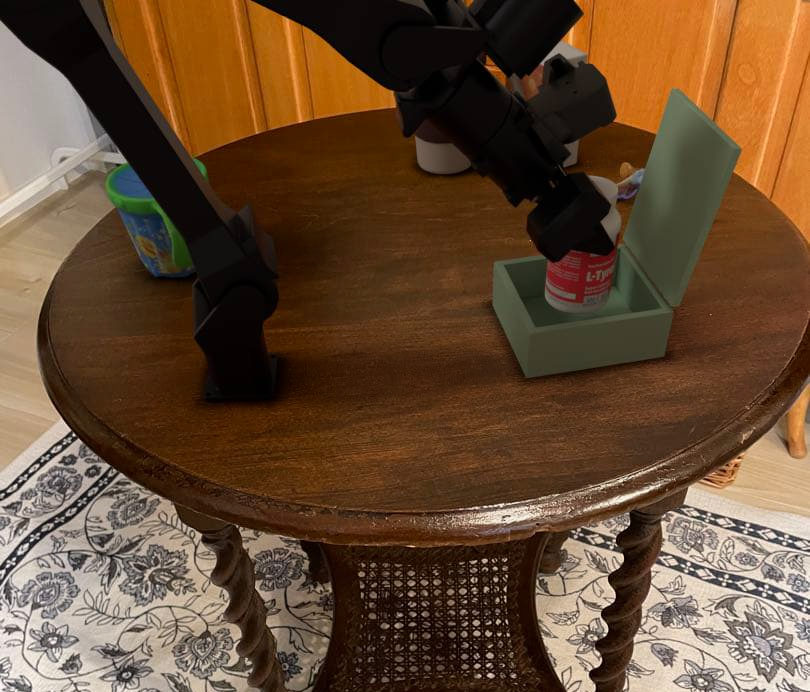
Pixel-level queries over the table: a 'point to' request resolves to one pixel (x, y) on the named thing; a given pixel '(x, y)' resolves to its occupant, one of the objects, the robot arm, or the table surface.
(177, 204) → the robot arm
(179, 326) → the table surface
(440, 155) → the coffee cup
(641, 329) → the chest
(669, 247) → the chest lid
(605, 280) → the pill bottle
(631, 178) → the fairy figurine
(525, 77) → the small box
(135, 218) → the snack cup
